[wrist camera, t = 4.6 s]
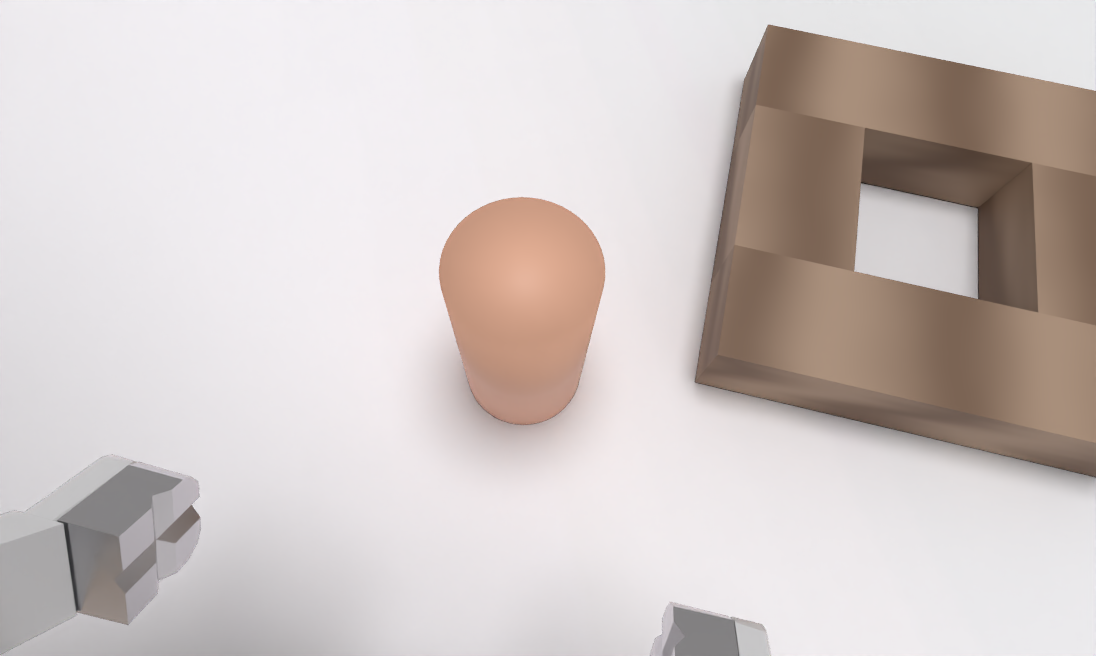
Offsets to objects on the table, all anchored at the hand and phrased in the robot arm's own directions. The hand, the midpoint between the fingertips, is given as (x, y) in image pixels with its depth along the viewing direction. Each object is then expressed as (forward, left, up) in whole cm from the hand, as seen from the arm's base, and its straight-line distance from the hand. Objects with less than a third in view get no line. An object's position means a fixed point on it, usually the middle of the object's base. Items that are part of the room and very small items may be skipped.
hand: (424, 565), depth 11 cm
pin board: (+13, +15, -10) cm, 22 cm away
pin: (0, +7, -10) cm, 13 cm away
